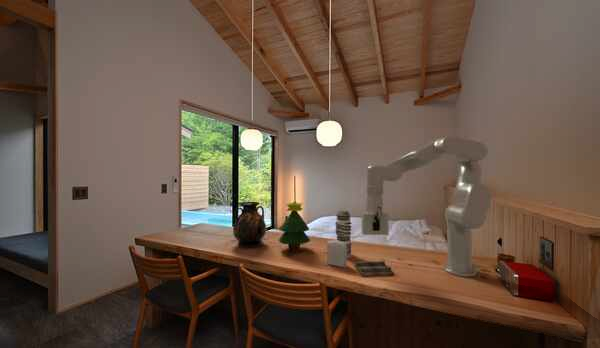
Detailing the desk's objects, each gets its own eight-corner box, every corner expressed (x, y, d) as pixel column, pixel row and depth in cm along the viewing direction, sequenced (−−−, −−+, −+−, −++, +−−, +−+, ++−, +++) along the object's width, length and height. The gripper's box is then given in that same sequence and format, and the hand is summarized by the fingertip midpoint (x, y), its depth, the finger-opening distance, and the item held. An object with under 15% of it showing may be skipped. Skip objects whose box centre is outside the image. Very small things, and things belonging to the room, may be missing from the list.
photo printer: (347, 265, 117) (347, 241, 117) (345, 268, 114) (344, 243, 114) (329, 261, 123) (328, 238, 123) (325, 264, 119) (325, 240, 119)
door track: (383, 265, 117) (383, 259, 117) (394, 275, 105) (394, 269, 105) (354, 265, 117) (354, 260, 117) (361, 276, 105) (361, 270, 105)
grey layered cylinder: (350, 252, 137) (350, 210, 137) (352, 258, 127) (352, 212, 127) (335, 252, 137) (334, 210, 137) (336, 257, 128) (335, 212, 128)
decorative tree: (274, 254, 134) (274, 202, 134) (283, 244, 153) (282, 199, 153) (307, 256, 131) (307, 203, 131) (311, 245, 150) (311, 199, 150)
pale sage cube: (385, 232, 113) (385, 212, 113) (388, 234, 110) (388, 213, 110) (361, 233, 112) (361, 212, 112) (363, 234, 109) (363, 213, 109)
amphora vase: (235, 252, 138) (235, 205, 138) (231, 242, 158) (230, 201, 158) (270, 247, 147) (270, 203, 147) (261, 239, 167) (261, 200, 167)
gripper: (361, 190, 119) (361, 225, 119) (373, 192, 103) (373, 234, 103) (376, 190, 119) (376, 225, 119) (390, 192, 103) (389, 234, 103)
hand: (374, 229), depth 111 cm, fingers closed on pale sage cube, 3 cm apart
